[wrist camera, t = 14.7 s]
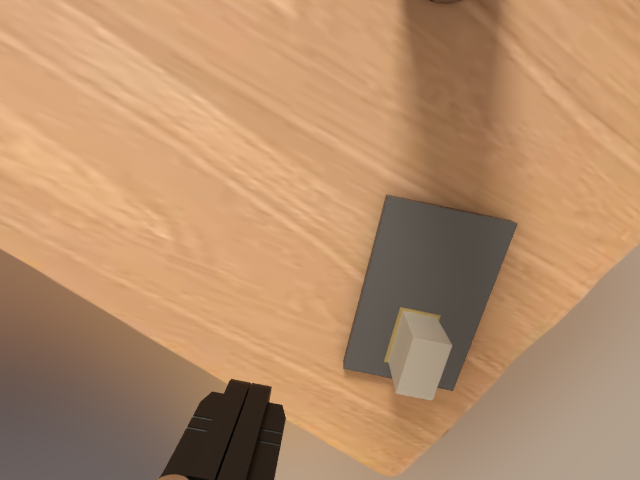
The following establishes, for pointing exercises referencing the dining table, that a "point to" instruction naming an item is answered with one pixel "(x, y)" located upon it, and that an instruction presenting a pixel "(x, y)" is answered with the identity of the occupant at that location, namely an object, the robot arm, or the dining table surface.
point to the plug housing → (418, 355)
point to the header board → (426, 280)
